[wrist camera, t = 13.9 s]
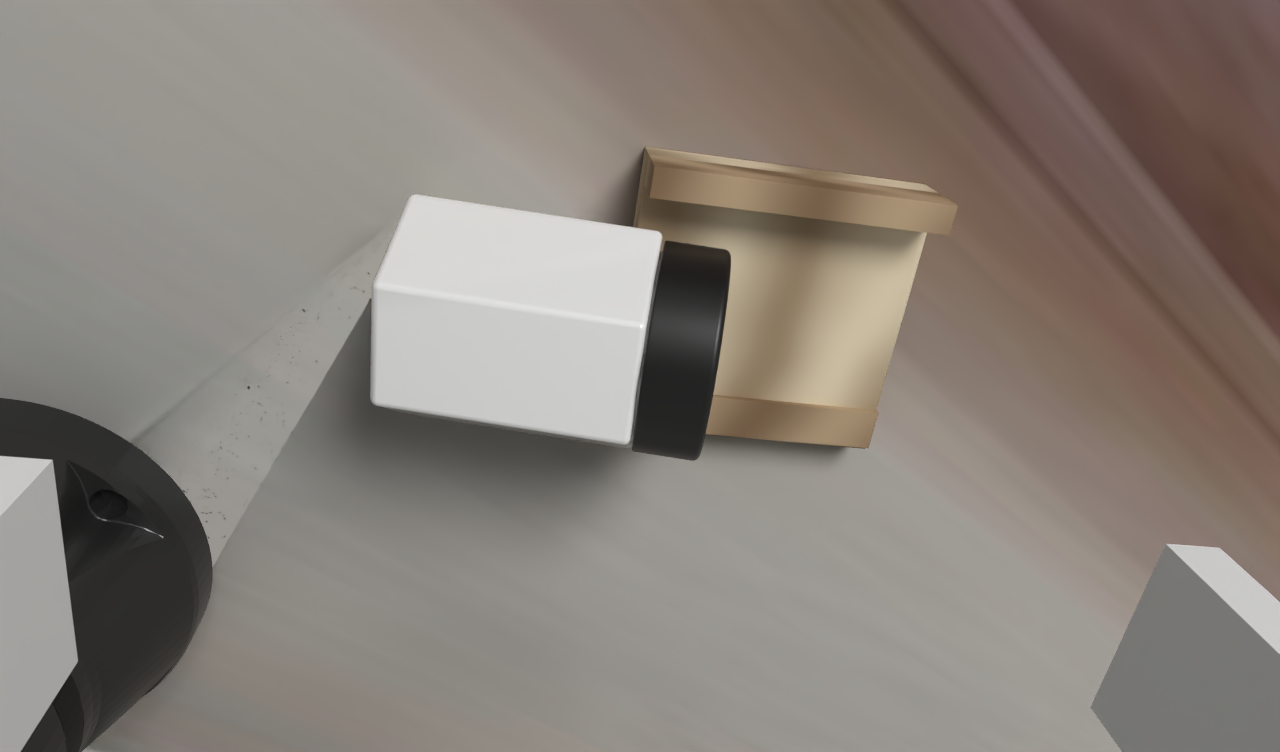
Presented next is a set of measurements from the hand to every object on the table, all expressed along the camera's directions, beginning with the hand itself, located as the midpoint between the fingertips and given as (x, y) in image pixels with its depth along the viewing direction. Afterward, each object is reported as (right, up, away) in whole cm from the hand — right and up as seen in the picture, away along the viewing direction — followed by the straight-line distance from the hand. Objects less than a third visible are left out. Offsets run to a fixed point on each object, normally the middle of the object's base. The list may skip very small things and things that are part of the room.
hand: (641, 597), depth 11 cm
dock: (+5, +6, +30) cm, 31 cm away
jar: (-9, +5, +24) cm, 26 cm away
